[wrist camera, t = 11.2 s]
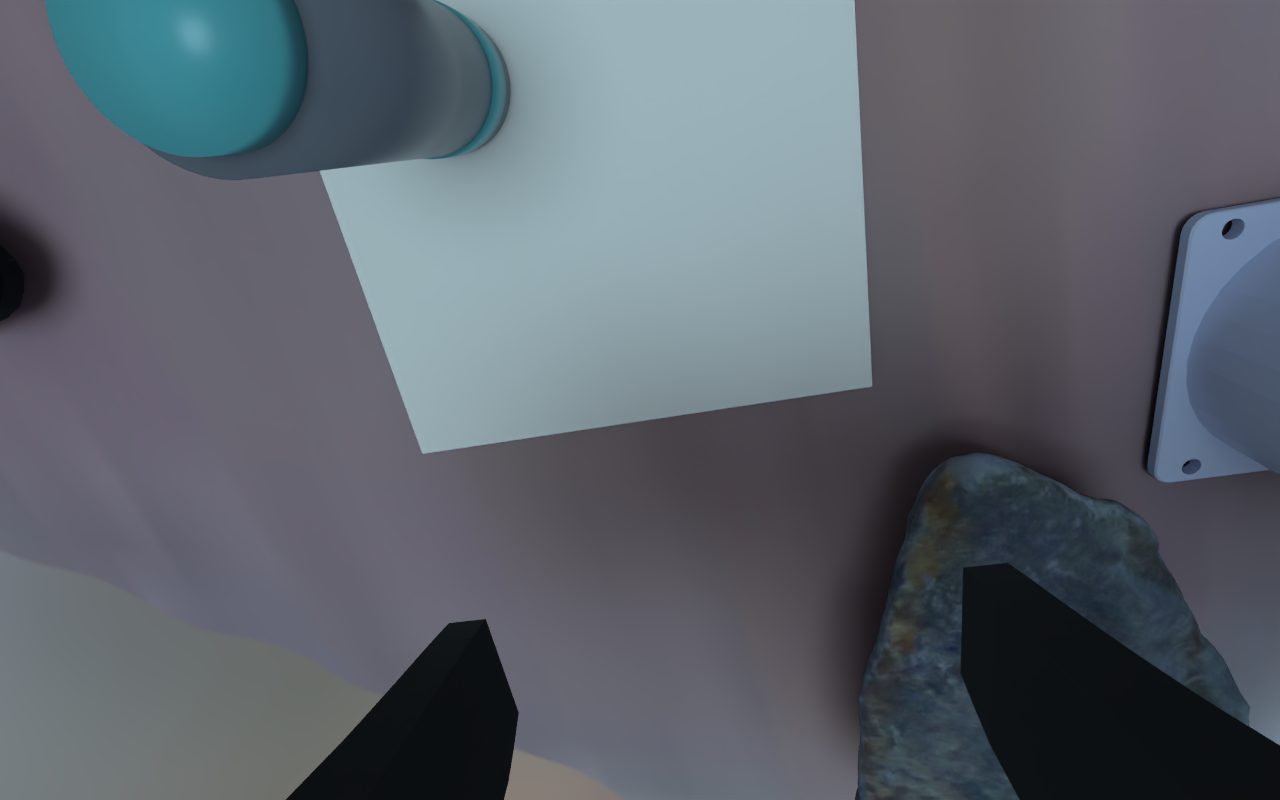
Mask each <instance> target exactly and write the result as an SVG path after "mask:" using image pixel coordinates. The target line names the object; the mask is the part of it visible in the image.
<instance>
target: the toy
mask: <svg viewBox="0 0 1280 800" xmlns="http://www.w3.org/2000/svg"><path fill="white" fill-rule="evenodd" d="M23 294H24V273H23V272H22V270H21V268H20V267H19V265H18V263H17V262H16V260H15V259H14V258H13V257H12V256H11V255H10V254H9V253H8V252H7V251H6V250H5V249H4V248H3V247H2V246H1V245H0V321H1V320H4V319H6V318H8V317H9V316H10V315H11V314H12V313H13V312H14V311H15V310H16V309H17V308H18V307H19V306H20V303H21V300H22V297H23Z"/></svg>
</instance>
